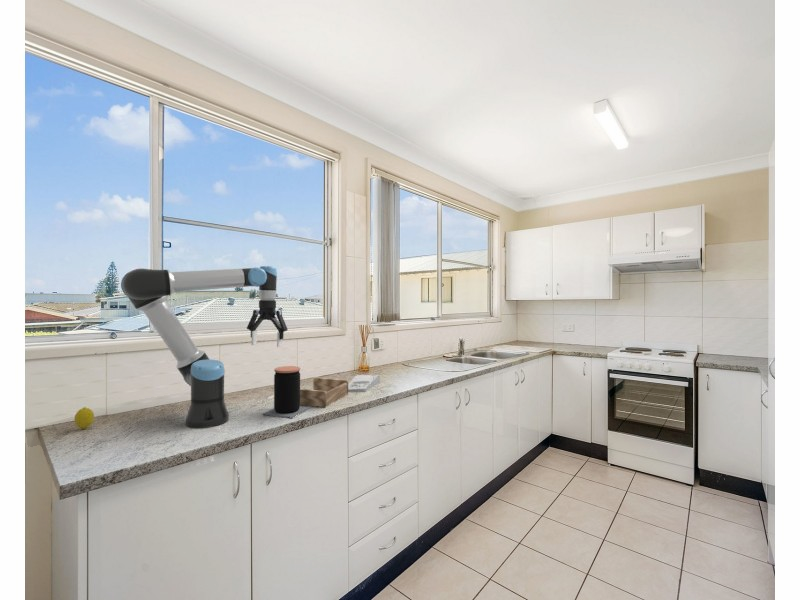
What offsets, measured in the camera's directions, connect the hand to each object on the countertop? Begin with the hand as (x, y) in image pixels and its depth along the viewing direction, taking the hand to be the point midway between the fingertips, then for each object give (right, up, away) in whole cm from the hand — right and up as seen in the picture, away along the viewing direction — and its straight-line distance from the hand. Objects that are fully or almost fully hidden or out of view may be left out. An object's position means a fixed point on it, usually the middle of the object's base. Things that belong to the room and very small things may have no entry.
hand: (266, 345), depth 177 cm
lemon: (-54, -27, -36) cm, 71 cm away
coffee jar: (+13, -26, -13) cm, 32 cm away
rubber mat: (+13, -27, -13) cm, 33 cm away
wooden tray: (+22, -26, +8) cm, 35 cm away
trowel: (+41, -27, +31) cm, 59 cm away
